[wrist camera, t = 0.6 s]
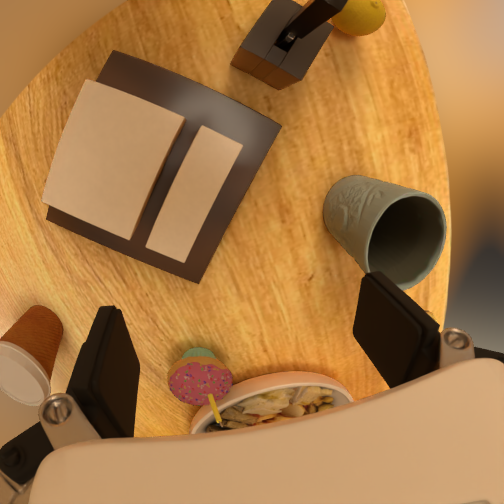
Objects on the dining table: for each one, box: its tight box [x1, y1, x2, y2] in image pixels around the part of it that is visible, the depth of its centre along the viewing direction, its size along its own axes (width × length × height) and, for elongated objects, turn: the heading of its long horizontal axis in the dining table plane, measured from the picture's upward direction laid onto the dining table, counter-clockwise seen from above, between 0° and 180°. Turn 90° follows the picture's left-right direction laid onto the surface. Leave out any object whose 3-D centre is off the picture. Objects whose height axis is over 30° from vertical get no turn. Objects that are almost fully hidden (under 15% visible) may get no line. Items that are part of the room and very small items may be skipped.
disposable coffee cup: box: [0, 305, 63, 406], centre depth 28 cm, size 10×10×12 cm
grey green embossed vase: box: [323, 175, 447, 291], centre depth 30 cm, size 10×10×12 cm
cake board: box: [46, 50, 282, 284], centre depth 28 cm, size 20×20×1 cm
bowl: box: [189, 371, 354, 434], centre depth 45 cm, size 30×30×8 cm
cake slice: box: [146, 125, 243, 263], centre depth 27 cm, size 12×4×5 cm, turn 151°
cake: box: [41, 79, 186, 240], centre depth 24 cm, size 12×10×5 cm
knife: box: [273, 0, 348, 49], centre depth 19 cm, size 3×2×16 cm, turn 151°
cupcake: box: [167, 347, 233, 427], centre depth 34 cm, size 9×8×12 cm
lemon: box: [331, 0, 386, 36], centre depth 22 cm, size 6×6×8 cm
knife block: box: [230, 0, 334, 90], centre depth 23 cm, size 7×6×7 cm
